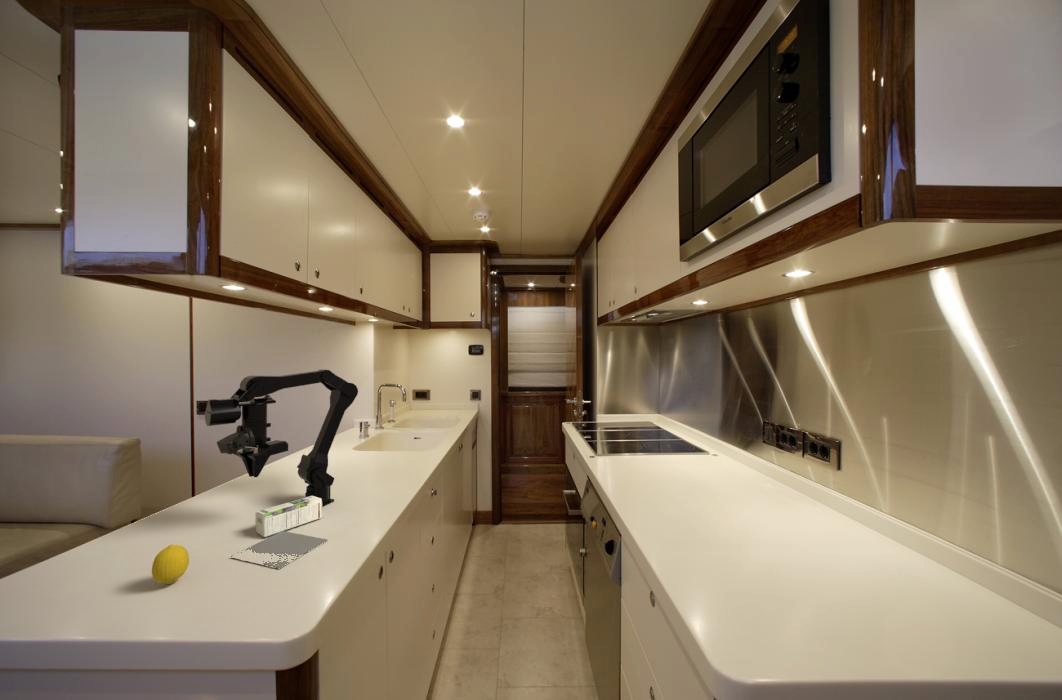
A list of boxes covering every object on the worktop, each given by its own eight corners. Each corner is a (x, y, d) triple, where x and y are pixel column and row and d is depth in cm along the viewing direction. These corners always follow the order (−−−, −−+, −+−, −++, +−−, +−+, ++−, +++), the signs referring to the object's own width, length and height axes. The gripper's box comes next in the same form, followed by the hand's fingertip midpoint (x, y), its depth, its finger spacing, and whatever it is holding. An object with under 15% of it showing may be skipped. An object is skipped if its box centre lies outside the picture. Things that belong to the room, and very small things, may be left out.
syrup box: (255, 511, 98) (313, 493, 110) (255, 533, 98) (313, 514, 110) (263, 515, 95) (322, 497, 107) (264, 538, 95) (323, 517, 107)
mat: (282, 532, 99) (282, 530, 99) (327, 541, 94) (327, 539, 94) (230, 558, 86) (230, 556, 86) (279, 569, 82) (279, 567, 82)
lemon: (146, 595, 73) (146, 554, 73) (158, 580, 78) (158, 541, 78) (183, 587, 75) (183, 548, 76) (192, 573, 80) (193, 536, 80)
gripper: (198, 423, 99) (197, 482, 99) (249, 428, 94) (249, 490, 93) (241, 417, 110) (241, 470, 110) (290, 420, 104) (289, 476, 104)
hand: (253, 476), depth 104 cm, fingers closed
